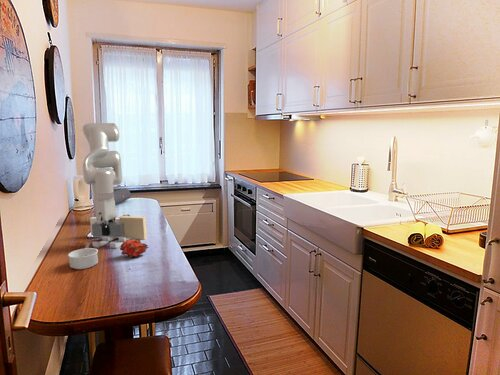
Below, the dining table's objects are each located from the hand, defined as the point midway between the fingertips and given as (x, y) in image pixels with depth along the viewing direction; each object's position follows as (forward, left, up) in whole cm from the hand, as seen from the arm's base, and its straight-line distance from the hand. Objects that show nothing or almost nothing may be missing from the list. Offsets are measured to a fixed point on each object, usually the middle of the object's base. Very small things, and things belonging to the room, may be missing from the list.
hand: (108, 233), depth 178 cm
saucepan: (+22, +3, -6) cm, 23 cm away
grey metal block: (0, 0, -1) cm, 1 cm away
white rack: (-4, -2, -6) cm, 7 cm away
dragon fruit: (+12, +20, -6) cm, 24 cm away
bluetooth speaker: (-88, -48, -6) cm, 100 cm away
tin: (-23, -6, -6) cm, 24 cm away
